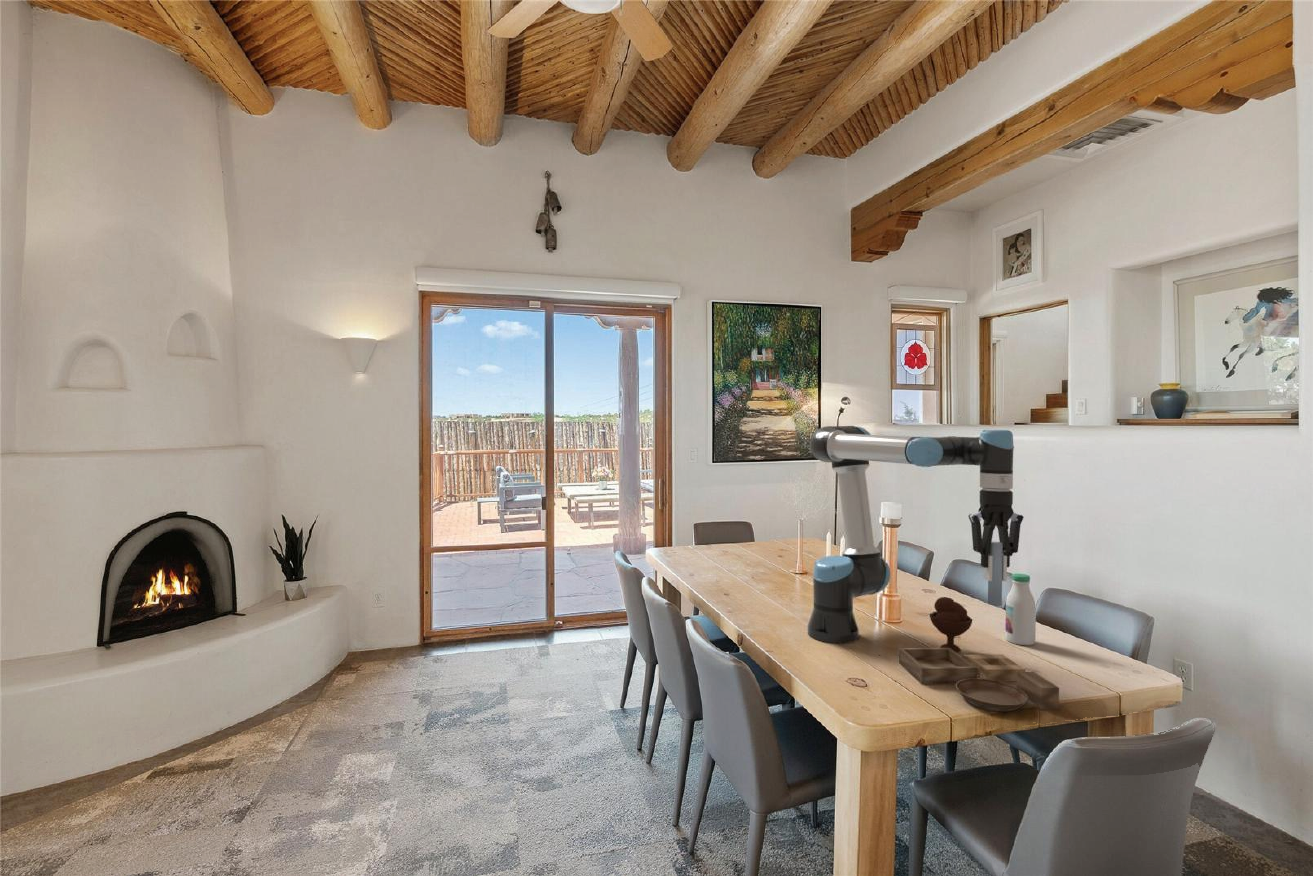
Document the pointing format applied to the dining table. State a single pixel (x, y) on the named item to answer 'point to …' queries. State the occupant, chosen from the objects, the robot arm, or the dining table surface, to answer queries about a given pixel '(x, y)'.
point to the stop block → (1038, 690)
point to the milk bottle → (1020, 612)
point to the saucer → (991, 694)
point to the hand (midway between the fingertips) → (995, 579)
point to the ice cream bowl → (950, 620)
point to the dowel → (996, 575)
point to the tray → (936, 665)
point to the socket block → (995, 667)
